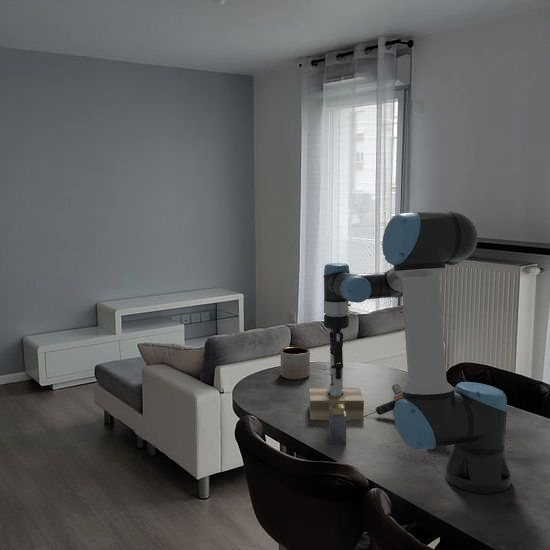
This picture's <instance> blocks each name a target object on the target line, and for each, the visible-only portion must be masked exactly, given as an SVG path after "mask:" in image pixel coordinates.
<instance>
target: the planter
mask: <svg viewBox="0 0 550 550" xmlns="http://www.w3.org/2000/svg"><path fill="white" fill-rule="evenodd" d="M310 352H311V351H310V349H308V348H306V347H303V346H302V347H301V346H288V347H284V348H282V349H280V366H279V367H280V371H279V372H280V373H279V374H280V376H281V377H282V378H284V379H287V380H295V381H296V380H297V381H299V380H303V379H306V378H309V377H310V375H311V362H310V361H311V358H310V357H311V356H310V354H311V353H310Z"/></svg>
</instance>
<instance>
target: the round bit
mask: <svg viewBox="0 0 550 550" xmlns="http://www.w3.org/2000/svg"><path fill="white" fill-rule="evenodd" d="M329 388H330V396H333V397H340V396H342V389H333V374H332V375H331V376H330V384H329Z"/></svg>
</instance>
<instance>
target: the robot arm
mask: <svg viewBox="0 0 550 550" xmlns="http://www.w3.org/2000/svg"><path fill="white" fill-rule="evenodd" d="M478 238H479V237H478V232H477V228H476V225H474V223H473V221H472V220H471V219H470V218H468V217H467V216H466V215H463V214H462V213H459V212H455V211H445V212H444V211H443V212H441V211H433V212H431V211H429V212H428V211H426V212H425V211H424V212H423V211H422V212H421V211H415V212H414V211H413V212H411V211H410V212H405V213H399V214H396V215H394V216H393V217H392V218H391V219H390V220H389V221H388V223H387V225H386V227H385V228H384V232H383V235H382V243H381V245H382V246H381V247H382V254H383V256H384V259H385V261H386V262H387V263H388V264H390V265H392V266H393V267H392V268H390V269H388V270H386V271H383V272H370V273H366V272H365V273H351V272H350V271H351V270H350V266H349V265H348V264H347V263H345V262H342V263H341V262H331V263H326V264H325V266H324V269H323V313H324V316H323V326H324V328H326V329H330V331H329V342H330V347H329V351H330V352H329V353H330V355H329V356H330V358H329V359H330V363H329V366H330V367H329V369H330V371H329V372H330V373H329V374H330V375H329V376H330V377H331V375H332V374H333V389H343V388H344V387H343V380H344V379H343V376H344V375H343V374H344V373H343V370H344V369H343V368H344V356H343V347H344V333H343V331H342V330H343V329H347V328H348V327H349V326H350V323H349V321H350V316H349V315H348V314H349V313H350V312H349V311H350V308H349V307H351V305H352V304H351V303H363V302H365V301H366V300H374V299H375V300H376V299H387V298H388V299H391V298H396V299H397V298H401V297H402V307H403V319H404V321H403V322H404V324H403V325H404V334H405V335H404V337H405V338H404V339H405V351H406V364H407V377H408V378H407V380H408V382H407V383H406V384H405V385H404V386H403V387H402V388H401V390H402V392H403V399H400V400H399V401H397V402H396V404H395V407H394V410H393V418H394V419H393V420H394V425H395V426H396V429H397V432H398V434H399V436H400V437H401V439H402V440H403V442H404V443H405V444H406V445H407V446H408V447H410V449H413V450H419V451H420V450H433V449H435V448H440V447H447V446H452V445H453V446H452V449H451V451H450V454H449V456H448V459H447V462H446V464H445V471H444V473H445V474H444V477H445V479H446V481H448V482H449V483H450V485H452V486H454V487H456V488H458V489H461V490H463V491H467V492H471V493H475V494H484V495H485V494H488V495H489V494H497V493H502V492H504V491H507V490H508V489H509V488H510V487H511V484H512V472H511V469H510V465H509V463H508V459H507V456H506V452H505V451H506V449H505V448H506V445H505V444H506V429H507V413H508V408H507V407H508V406H507V399H508V398H507V396H506V394H505V392H504V391H503V390H501V389H499V388H497V387H494V386H492V385H489V384H484V383H478V382H471V381H460V382H458V383H457V384H456V385H455V387H454V386H452V384H450V383H449V382H448V379H447V367H446V356H445V355H446V354H445V353H446V352H445V342H444V341H445V340H444V328H443V327H444V325H443V311H442V310H443V309H442V297H441V283H440V281H441V280H440V278H441V275H442V274H443V273H444V272H445V271H446V266H456V265H458V264H461V262H463V261H465V260H466V259H468V258H469V257H470V256H471V255H472V254H473V253H474V251H475V250H476V248H477V246H478V241H479V240H478ZM350 302H351V303H350Z"/></svg>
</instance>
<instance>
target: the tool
mask: <svg viewBox="0 0 550 550" xmlns="http://www.w3.org/2000/svg"><path fill="white" fill-rule="evenodd" d="M391 389H392V391H393V393H394V395H393V396H392V397H393V400H391V401H388V402H385V403H383V404H381V405H379V406H377V407H376V408H375V411H374V412H371V413H368V414H366V415H364V418H365V417H367V416H370V415H373V414H375V413H377V415H380V416H381V415H384V414H387V413H389V412H391V411H394V407H395V404H396V402H397V401H399V400H400V399H403V391H402V387H401V386H400V385H399V383H394V384H393V385H392V387H391Z"/></svg>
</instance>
